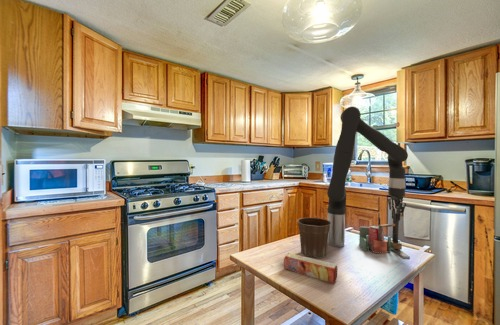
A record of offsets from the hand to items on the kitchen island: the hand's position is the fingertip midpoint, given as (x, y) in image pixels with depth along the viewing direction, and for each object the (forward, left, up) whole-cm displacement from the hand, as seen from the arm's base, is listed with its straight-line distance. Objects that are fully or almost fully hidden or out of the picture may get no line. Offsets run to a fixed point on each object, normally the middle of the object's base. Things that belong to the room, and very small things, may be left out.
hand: (395, 219), depth 123 cm
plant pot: (-44, -10, -16) cm, 48 cm away
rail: (0, -3, -16) cm, 16 cm away
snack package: (-49, -31, -17) cm, 61 cm away
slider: (-6, -2, -16) cm, 17 cm away
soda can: (-10, 0, -16) cm, 19 cm away
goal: (-10, 0, -16) cm, 19 cm away
